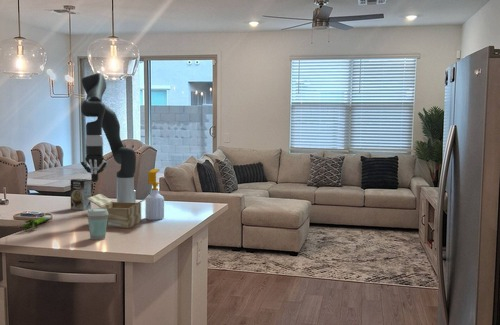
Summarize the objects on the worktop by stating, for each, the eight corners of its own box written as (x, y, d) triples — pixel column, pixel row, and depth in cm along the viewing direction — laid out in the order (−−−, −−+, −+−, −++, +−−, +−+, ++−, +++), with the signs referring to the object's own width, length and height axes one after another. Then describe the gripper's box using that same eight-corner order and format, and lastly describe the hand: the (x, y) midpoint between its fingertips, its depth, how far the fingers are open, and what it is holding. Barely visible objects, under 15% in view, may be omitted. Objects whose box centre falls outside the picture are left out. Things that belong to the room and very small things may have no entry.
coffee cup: (89, 236, 212) (89, 207, 211) (110, 236, 213) (110, 207, 212) (84, 241, 203) (84, 211, 202) (106, 240, 204) (106, 211, 203)
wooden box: (113, 220, 246) (112, 201, 245) (141, 221, 244) (140, 202, 243) (99, 227, 229) (99, 207, 228) (129, 228, 227) (129, 208, 227)
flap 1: (112, 201, 244) (100, 194, 244) (112, 200, 244) (100, 193, 244) (99, 206, 229) (86, 199, 229) (100, 206, 229) (87, 198, 229)
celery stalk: (54, 223, 246) (36, 232, 216) (40, 225, 245) (19, 234, 215) (53, 211, 246) (34, 218, 216) (38, 213, 245) (17, 220, 215)
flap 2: (140, 201, 242) (152, 195, 242) (140, 202, 242) (152, 195, 242) (129, 207, 227) (142, 200, 227) (129, 208, 227) (142, 200, 227)
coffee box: (70, 209, 272) (69, 179, 271) (78, 207, 278) (78, 178, 277) (83, 210, 269) (83, 180, 268) (91, 208, 275) (91, 179, 274)
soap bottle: (167, 217, 254) (167, 168, 252) (158, 220, 246) (158, 170, 244) (151, 215, 257) (151, 168, 255) (142, 219, 249) (142, 169, 247)
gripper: (77, 145, 231) (77, 182, 233) (105, 145, 230) (105, 183, 232) (83, 144, 239) (84, 180, 240) (111, 144, 237) (111, 181, 239)
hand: (95, 181), depth 236 cm, fingers closed
